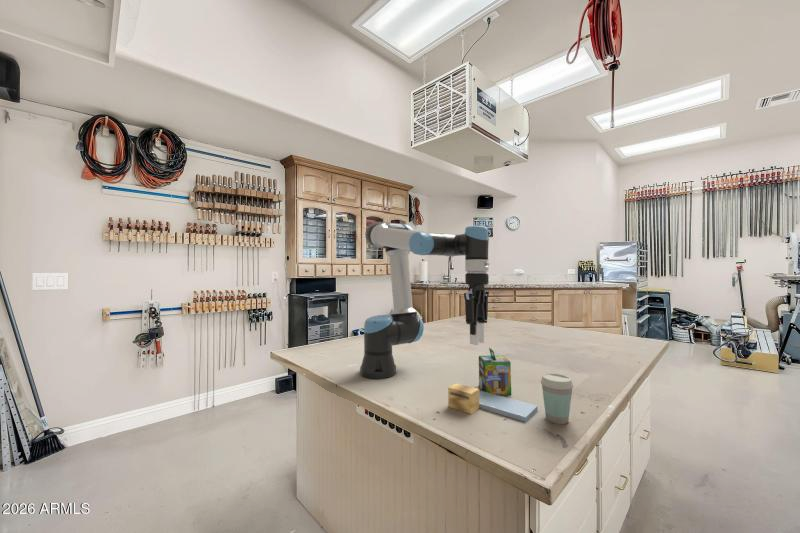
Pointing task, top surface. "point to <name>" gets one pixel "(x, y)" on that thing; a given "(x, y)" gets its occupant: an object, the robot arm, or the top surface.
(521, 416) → the board
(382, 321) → the robot arm
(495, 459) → the top surface
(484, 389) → the chalk box
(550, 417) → the coffee cup
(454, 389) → the tan rectangular block
